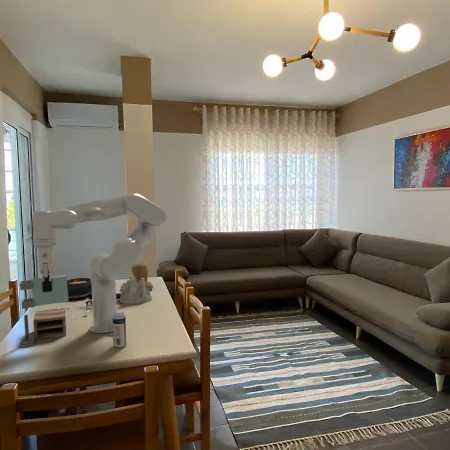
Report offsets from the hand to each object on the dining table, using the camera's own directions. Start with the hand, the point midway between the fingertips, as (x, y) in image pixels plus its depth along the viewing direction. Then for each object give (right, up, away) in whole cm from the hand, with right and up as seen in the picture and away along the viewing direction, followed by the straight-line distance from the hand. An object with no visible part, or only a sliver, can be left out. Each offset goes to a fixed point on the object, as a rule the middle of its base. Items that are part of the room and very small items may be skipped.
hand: (47, 290), depth 137 cm
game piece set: (-5, -18, +34) cm, 39 cm away
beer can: (+29, -20, -4) cm, 35 cm away
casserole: (-15, -15, +66) cm, 70 cm away
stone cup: (+18, -14, +81) cm, 84 cm away
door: (-1, -5, 0) cm, 5 cm away
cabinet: (-4, -19, +7) cm, 21 cm away
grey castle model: (+20, -16, +56) cm, 61 cm away
